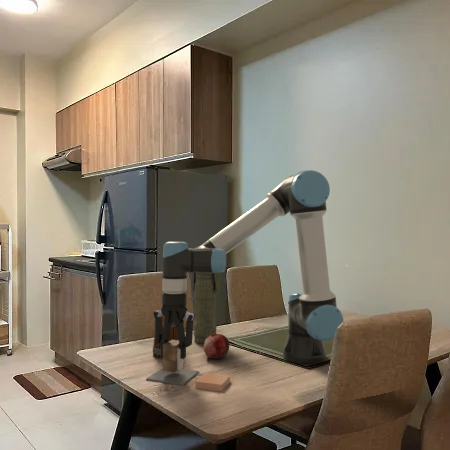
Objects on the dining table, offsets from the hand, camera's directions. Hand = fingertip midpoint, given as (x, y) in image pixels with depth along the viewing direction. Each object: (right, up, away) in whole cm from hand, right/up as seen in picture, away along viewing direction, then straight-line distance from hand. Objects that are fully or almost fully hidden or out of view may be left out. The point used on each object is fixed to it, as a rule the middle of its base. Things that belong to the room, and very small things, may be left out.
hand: (173, 367), depth 134 cm
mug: (-4, -3, +25) cm, 26 cm away
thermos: (+8, -3, +41) cm, 42 cm away
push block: (0, 0, 0) cm, 0 cm away
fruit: (+13, -3, +20) cm, 24 cm away
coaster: (0, -3, 0) cm, 3 cm away
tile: (+14, -2, -3) cm, 14 cm away
